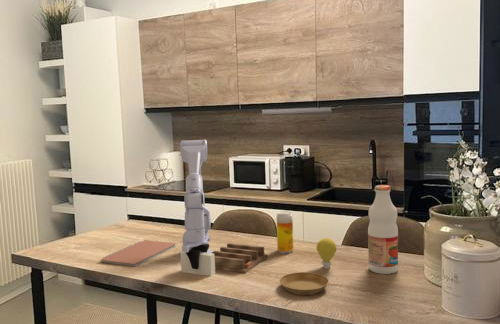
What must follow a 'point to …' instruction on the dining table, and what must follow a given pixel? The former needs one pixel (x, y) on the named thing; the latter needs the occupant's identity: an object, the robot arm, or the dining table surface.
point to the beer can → (284, 232)
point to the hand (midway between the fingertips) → (197, 267)
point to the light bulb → (326, 251)
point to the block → (204, 264)
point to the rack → (238, 257)
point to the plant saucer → (304, 283)
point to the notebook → (138, 253)
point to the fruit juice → (383, 233)
